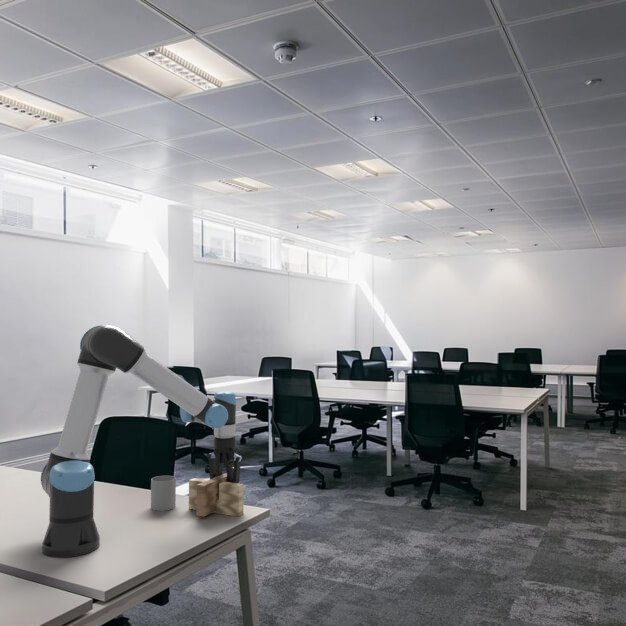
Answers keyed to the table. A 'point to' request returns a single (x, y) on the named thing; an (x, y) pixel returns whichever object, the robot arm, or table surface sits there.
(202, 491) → the walnut plate
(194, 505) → the notched wooden slab
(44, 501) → the table surface
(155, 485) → the cup
